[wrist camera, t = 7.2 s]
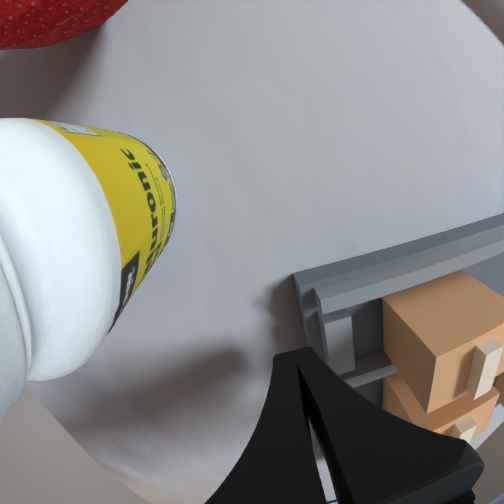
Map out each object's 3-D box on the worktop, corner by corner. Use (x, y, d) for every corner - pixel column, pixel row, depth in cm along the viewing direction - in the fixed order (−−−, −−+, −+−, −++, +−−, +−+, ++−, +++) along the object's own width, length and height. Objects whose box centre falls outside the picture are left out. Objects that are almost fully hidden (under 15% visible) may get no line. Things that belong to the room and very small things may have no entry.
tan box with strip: (447, 381, 13) (490, 437, 8) (381, 409, 13) (416, 478, 9) (454, 344, 12) (507, 401, 8) (383, 373, 12) (427, 447, 8)
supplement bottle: (174, 278, 12) (84, 520, 3) (57, 259, 11) (-105, 400, 2) (190, 137, 10) (-14, 69, 1) (62, 130, 10) (-161, 142, 1)
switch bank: (528, 358, 16) (543, 372, 14) (325, 454, 16) (333, 481, 14) (554, 196, 12) (578, 203, 10) (292, 273, 12) (305, 297, 10)
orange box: (457, 320, 12) (517, 376, 7) (383, 350, 12) (434, 425, 7) (461, 269, 11) (534, 318, 6) (381, 297, 11) (446, 369, 7)
